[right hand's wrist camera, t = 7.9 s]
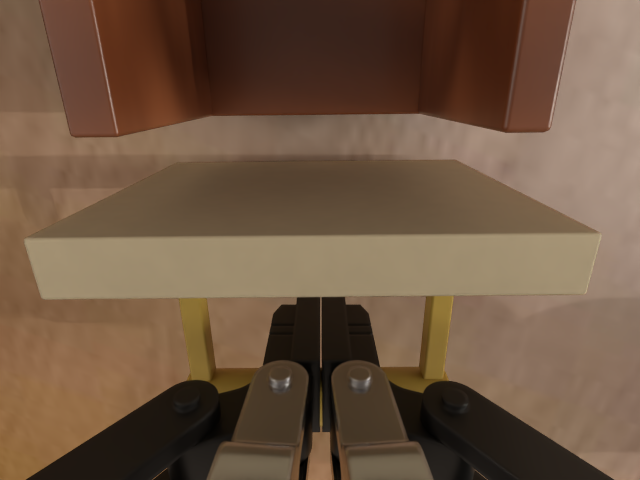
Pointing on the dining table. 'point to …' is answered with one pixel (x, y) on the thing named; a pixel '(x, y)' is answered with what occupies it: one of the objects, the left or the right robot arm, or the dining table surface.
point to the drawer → (310, 176)
